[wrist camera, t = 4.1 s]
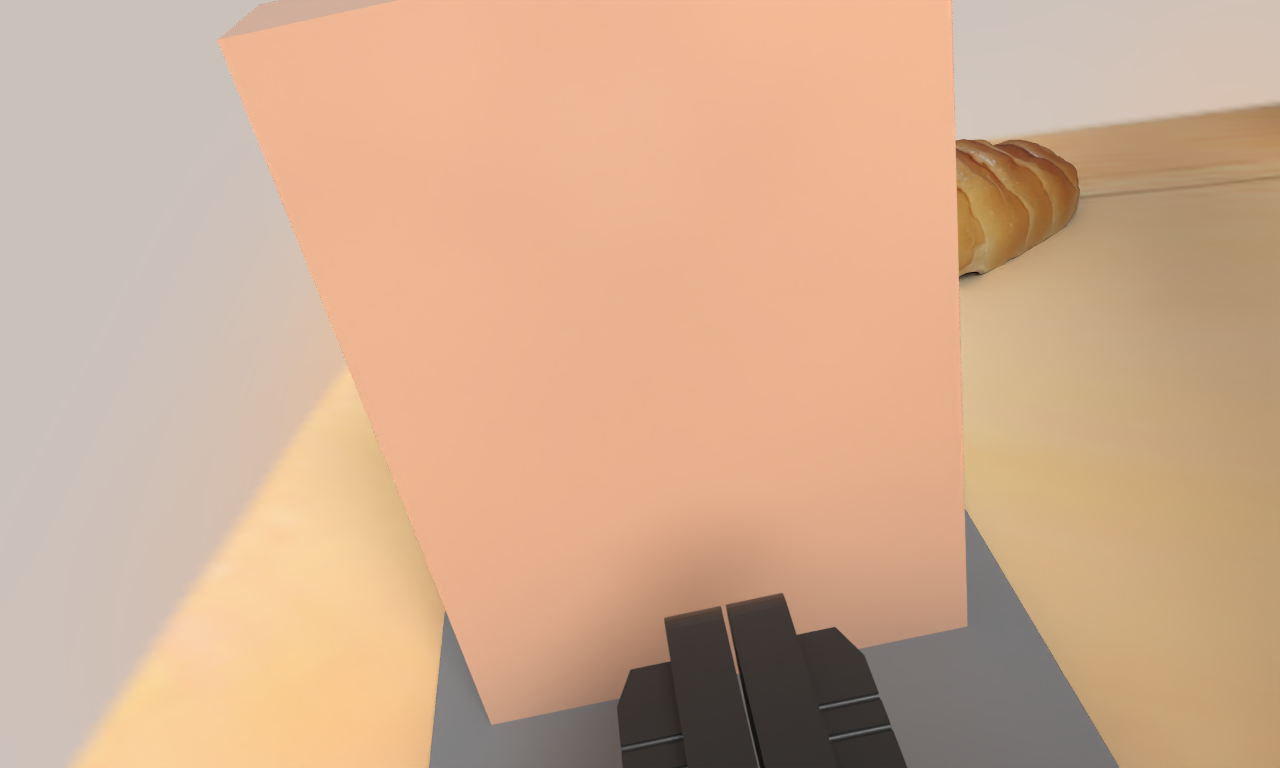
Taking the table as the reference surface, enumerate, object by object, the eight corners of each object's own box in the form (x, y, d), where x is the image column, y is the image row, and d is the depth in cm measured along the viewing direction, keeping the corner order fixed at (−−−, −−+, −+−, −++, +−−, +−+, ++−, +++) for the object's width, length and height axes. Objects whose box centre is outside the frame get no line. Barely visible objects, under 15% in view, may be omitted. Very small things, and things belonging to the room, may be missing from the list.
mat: (821, 276, 36) (820, 266, 35) (1147, 832, 17) (1149, 817, 17) (475, 350, 36) (472, 340, 36) (415, 981, 17) (408, 968, 17)
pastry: (1002, 177, 40) (1003, 83, 38) (1131, 231, 35) (1139, 124, 33) (795, 251, 38) (784, 155, 36) (896, 321, 33) (890, 213, 31)
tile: (923, 541, 23) (886, -136, 16) (967, 626, 21) (948, -121, 13) (494, 630, 23) (262, 2, 16) (491, 725, 21) (217, 40, 14)
